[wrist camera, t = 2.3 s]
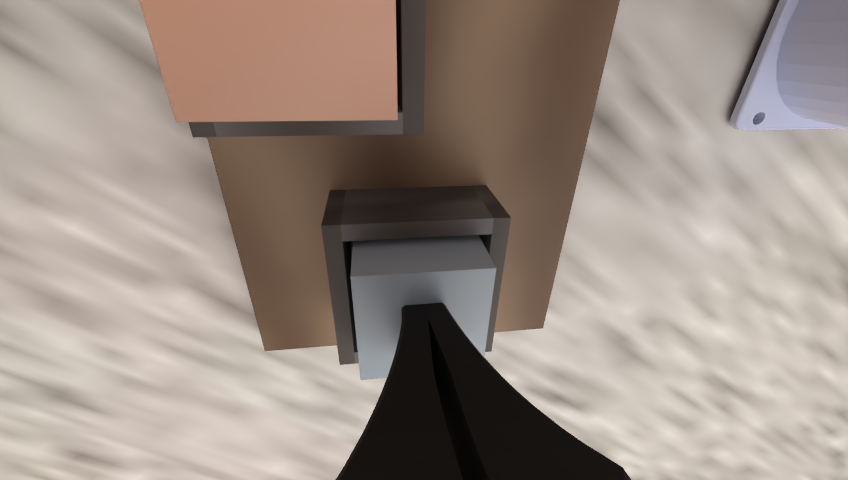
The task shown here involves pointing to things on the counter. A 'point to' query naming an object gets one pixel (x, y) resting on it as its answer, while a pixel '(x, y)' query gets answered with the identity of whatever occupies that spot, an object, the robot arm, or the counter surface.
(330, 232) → the brown socket board
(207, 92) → the salmon pink cube
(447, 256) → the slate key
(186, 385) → the counter surface
